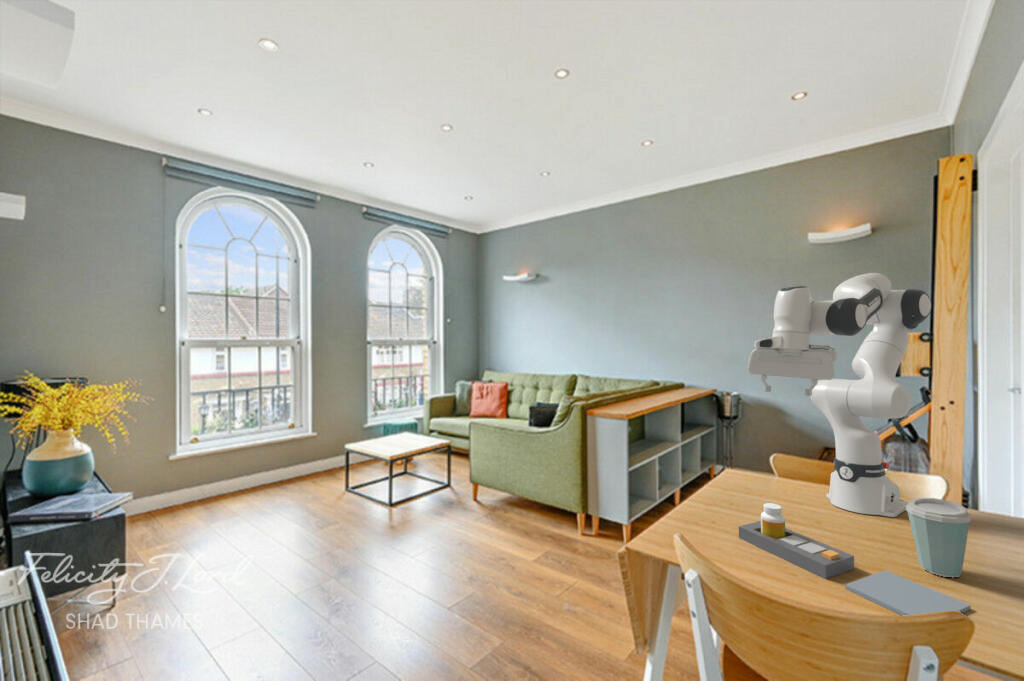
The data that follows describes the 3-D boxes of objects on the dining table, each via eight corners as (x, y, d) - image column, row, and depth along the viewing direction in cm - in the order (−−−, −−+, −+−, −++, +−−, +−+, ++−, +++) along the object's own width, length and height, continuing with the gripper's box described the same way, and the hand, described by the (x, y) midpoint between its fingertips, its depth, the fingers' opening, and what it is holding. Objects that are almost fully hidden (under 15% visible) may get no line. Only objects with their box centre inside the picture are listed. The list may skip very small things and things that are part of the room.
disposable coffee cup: (958, 588, 91) (956, 516, 91) (896, 564, 101) (894, 499, 101) (983, 576, 96) (981, 508, 96) (921, 555, 105) (920, 492, 105)
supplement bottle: (789, 549, 109) (788, 510, 109) (765, 547, 110) (764, 509, 110) (780, 539, 115) (780, 502, 115) (758, 538, 116) (757, 501, 116)
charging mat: (885, 573, 98) (885, 570, 98) (970, 609, 85) (970, 605, 85) (845, 588, 92) (845, 584, 92) (929, 628, 79) (929, 624, 79)
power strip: (765, 530, 120) (765, 516, 120) (854, 569, 100) (854, 552, 100) (738, 537, 116) (738, 523, 116) (825, 579, 96) (825, 561, 96)
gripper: (835, 346, 119) (832, 397, 119) (749, 342, 130) (746, 389, 129) (838, 345, 114) (835, 398, 113) (749, 341, 124) (746, 390, 124)
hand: (787, 393), depth 121 cm, fingers open, 8 cm apart
